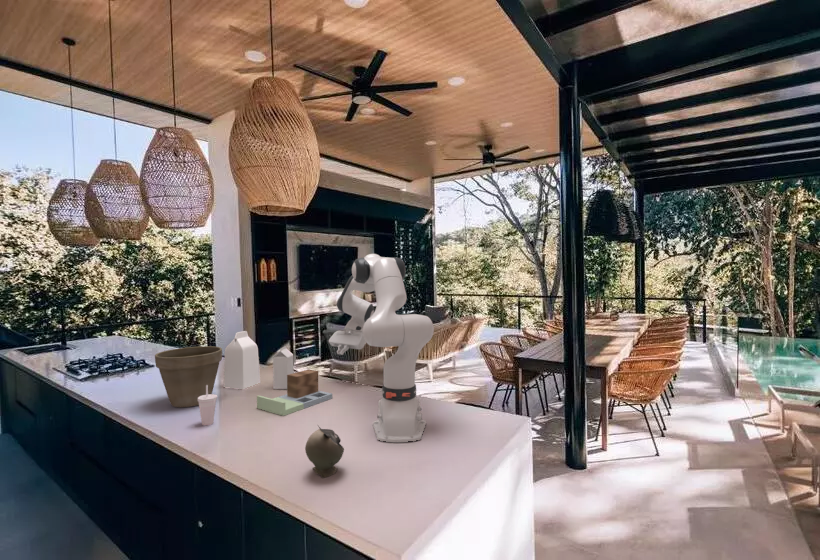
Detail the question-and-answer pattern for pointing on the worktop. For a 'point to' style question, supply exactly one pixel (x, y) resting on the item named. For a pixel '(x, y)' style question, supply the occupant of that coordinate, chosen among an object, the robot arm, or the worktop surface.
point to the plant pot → (188, 373)
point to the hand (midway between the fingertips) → (339, 353)
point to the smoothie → (207, 407)
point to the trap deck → (291, 402)
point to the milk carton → (282, 368)
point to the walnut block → (302, 383)
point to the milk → (241, 362)
